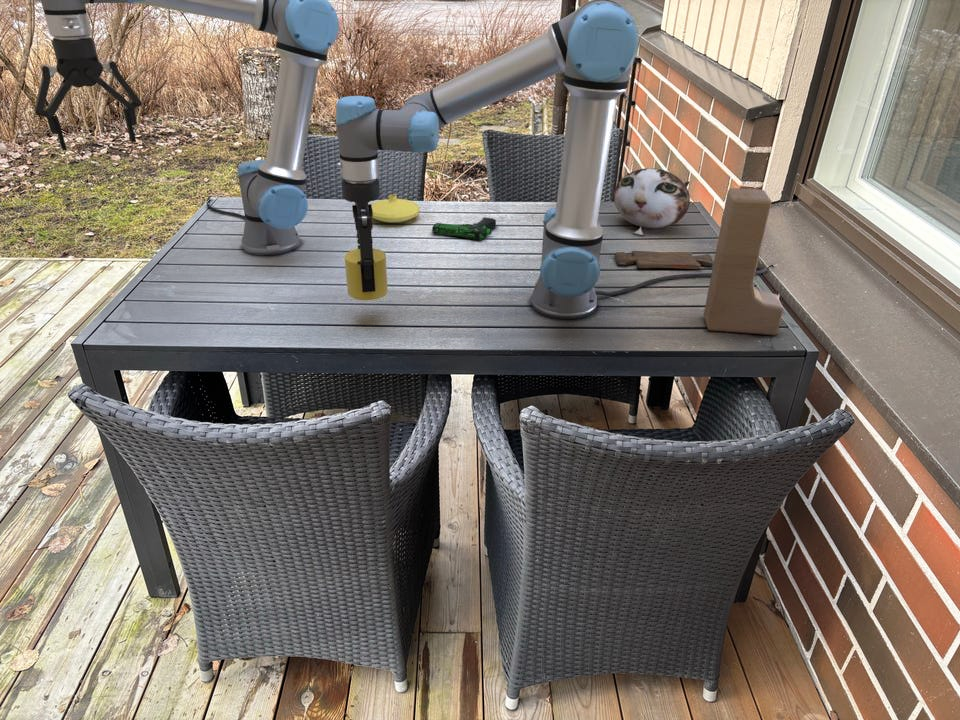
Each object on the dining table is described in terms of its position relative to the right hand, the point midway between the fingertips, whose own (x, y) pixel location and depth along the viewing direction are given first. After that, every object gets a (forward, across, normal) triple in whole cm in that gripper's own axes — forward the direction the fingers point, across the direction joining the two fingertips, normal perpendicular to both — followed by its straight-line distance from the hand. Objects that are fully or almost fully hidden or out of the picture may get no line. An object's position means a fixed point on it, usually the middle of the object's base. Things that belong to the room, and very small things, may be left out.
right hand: (367, 281), depth 155 cm
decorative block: (+9, +17, +81) cm, 83 cm away
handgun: (+9, -51, +32) cm, 61 cm away
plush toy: (+9, -46, +85) cm, 97 cm away
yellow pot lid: (+10, -65, +12) cm, 67 cm away
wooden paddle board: (+9, -20, +79) cm, 82 cm away
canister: (+2, 0, 0) cm, 2 cm away
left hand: (-25, -26, -54) cm, 65 cm away
